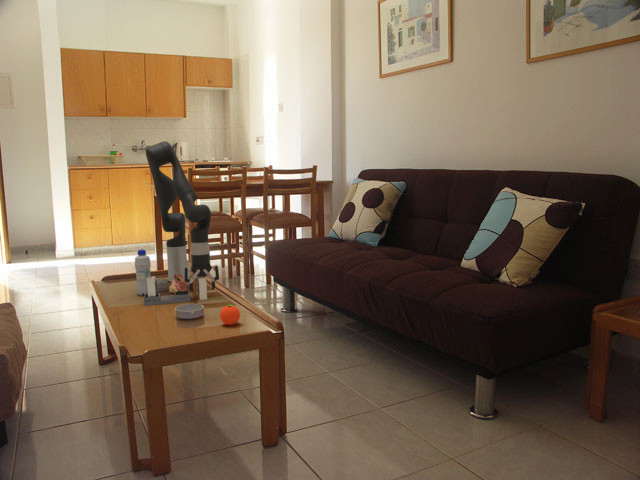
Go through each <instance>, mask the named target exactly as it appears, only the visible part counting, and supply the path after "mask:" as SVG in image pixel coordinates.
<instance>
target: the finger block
mask: <svg viewBox="0 0 640 480" xmlns="http://www.w3.org/2000/svg"><path fill="white" fill-rule="evenodd" d="M197 278H198V280H196V283H197V284H196V285H197V286H196V287H197V294H198V295H199V297H198V298H199V301H203V300H204V299H205V300H208V288H207V287H208V286H207V276H206V277H197Z"/></svg>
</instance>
